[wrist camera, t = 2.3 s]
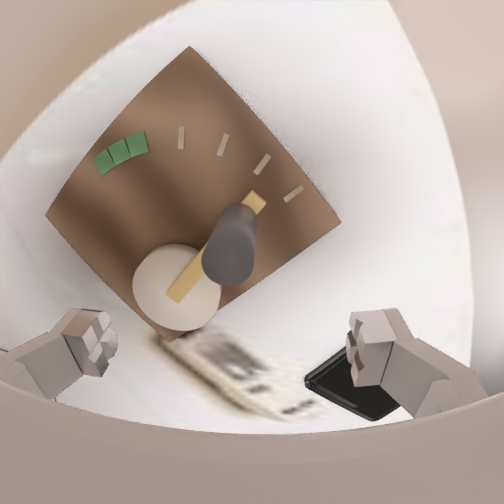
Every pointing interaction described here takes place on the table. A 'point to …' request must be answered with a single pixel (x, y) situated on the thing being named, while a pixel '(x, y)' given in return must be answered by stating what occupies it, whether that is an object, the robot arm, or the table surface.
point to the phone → (349, 389)
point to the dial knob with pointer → (198, 270)
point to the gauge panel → (185, 182)
